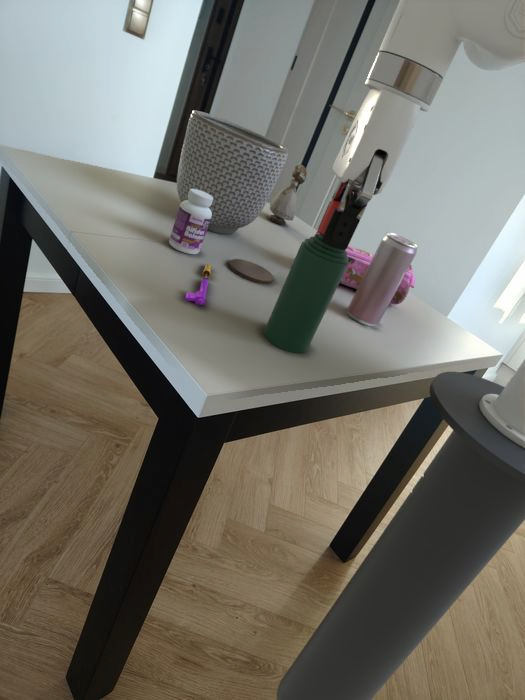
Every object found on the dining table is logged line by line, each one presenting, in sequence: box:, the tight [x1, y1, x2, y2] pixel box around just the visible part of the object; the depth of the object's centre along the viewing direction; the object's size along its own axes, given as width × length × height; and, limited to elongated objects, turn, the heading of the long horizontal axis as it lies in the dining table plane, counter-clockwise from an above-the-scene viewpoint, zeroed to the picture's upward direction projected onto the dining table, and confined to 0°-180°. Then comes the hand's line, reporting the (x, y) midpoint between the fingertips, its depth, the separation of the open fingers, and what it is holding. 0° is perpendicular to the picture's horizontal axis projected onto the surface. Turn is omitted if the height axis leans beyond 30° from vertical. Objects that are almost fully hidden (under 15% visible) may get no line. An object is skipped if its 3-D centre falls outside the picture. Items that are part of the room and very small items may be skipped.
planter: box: [176, 109, 290, 235], centre depth 100 cm, size 20×20×19 cm
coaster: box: [229, 258, 275, 285], centre depth 87 cm, size 8×8×1 cm
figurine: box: [269, 163, 308, 226], centre depth 127 cm, size 8×7×15 cm
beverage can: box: [347, 231, 419, 327], centre depth 86 cm, size 6×6×15 cm
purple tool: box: [184, 263, 212, 306], centre depth 74 cm, size 3×1×16 cm
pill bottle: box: [168, 189, 213, 255], centre depth 83 cm, size 5×5×10 cm
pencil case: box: [313, 230, 416, 305], centre depth 100 cm, size 21×9×9 cm, turn 89°
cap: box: [318, 199, 340, 234], centre depth 62 cm, size 4×4×4 cm
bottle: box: [263, 233, 349, 354], centre depth 65 cm, size 6×6×18 cm
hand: (331, 239), depth 63 cm, fingers closed on cap, 3 cm apart
